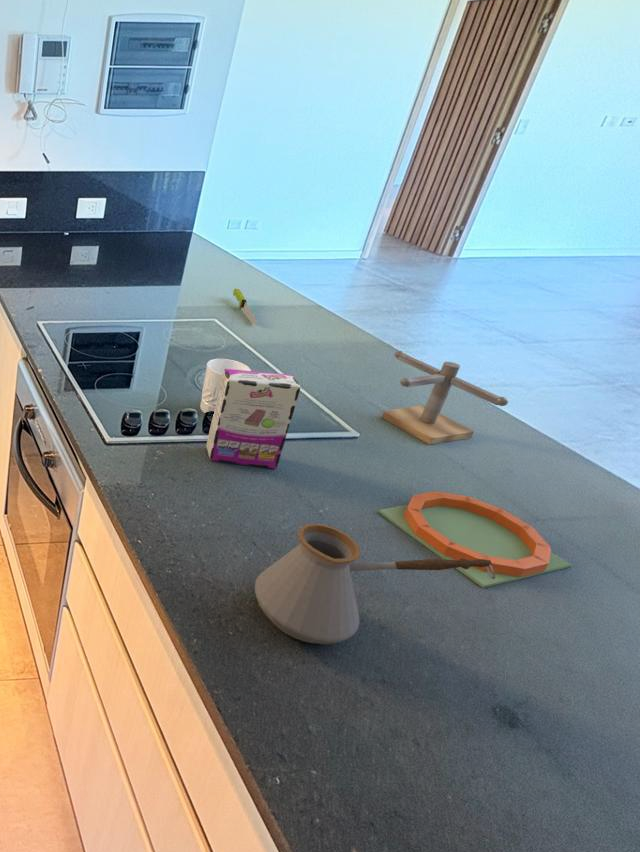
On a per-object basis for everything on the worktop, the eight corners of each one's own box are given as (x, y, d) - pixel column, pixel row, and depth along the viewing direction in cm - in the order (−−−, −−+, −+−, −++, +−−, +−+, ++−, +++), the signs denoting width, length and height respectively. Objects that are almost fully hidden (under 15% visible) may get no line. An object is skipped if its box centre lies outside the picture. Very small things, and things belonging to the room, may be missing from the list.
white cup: (226, 400, 128) (237, 357, 124) (247, 420, 121) (259, 375, 117) (190, 402, 128) (199, 359, 124) (208, 422, 121) (219, 377, 117)
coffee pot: (253, 639, 76) (286, 547, 69) (245, 574, 85) (273, 487, 79) (464, 698, 69) (523, 601, 62) (430, 619, 78) (478, 529, 72)
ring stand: (396, 398, 129) (420, 339, 123) (501, 453, 111) (535, 387, 105) (336, 407, 126) (357, 347, 120) (434, 465, 108) (465, 398, 102)
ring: (459, 493, 100) (463, 485, 100) (575, 564, 86) (580, 555, 86) (379, 508, 97) (383, 500, 96) (486, 585, 83) (491, 576, 82)
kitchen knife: (257, 331, 164) (260, 321, 162) (252, 331, 164) (255, 321, 163) (236, 296, 183) (238, 287, 181) (231, 296, 183) (234, 287, 181)
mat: (457, 496, 100) (458, 494, 100) (570, 567, 86) (572, 564, 86) (377, 512, 97) (378, 509, 97) (482, 588, 83) (484, 585, 83)
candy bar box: (269, 454, 111) (294, 373, 104) (277, 470, 107) (303, 387, 100) (203, 445, 114) (223, 366, 106) (208, 461, 109) (229, 379, 102)
